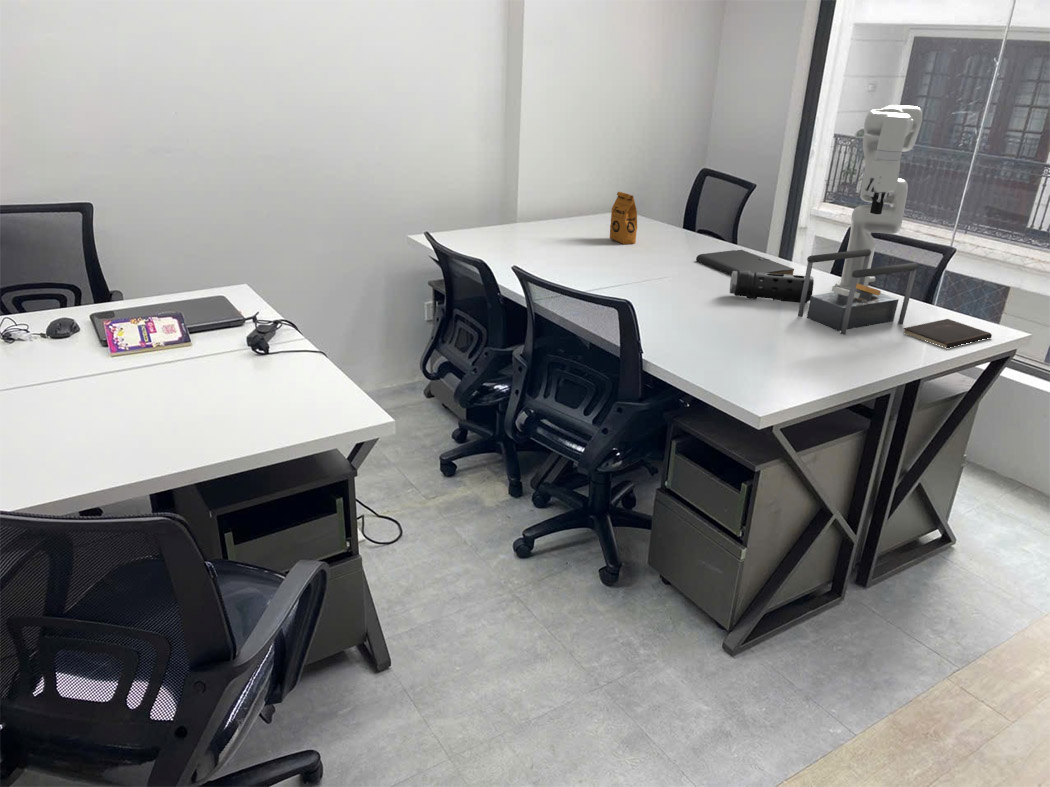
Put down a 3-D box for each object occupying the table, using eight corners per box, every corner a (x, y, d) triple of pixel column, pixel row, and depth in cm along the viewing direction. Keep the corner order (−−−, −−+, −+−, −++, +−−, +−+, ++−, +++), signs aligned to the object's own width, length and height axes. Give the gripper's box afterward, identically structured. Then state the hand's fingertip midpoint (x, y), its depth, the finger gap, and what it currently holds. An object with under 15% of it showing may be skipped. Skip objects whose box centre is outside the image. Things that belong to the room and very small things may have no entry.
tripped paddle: (867, 291, 266) (869, 286, 266) (878, 295, 262) (881, 290, 262) (852, 287, 262) (854, 282, 262) (864, 291, 258) (866, 286, 257)
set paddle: (846, 293, 262) (848, 289, 261) (858, 298, 258) (860, 293, 257) (831, 290, 258) (832, 285, 257) (842, 295, 254) (844, 290, 253)
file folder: (795, 268, 310) (747, 274, 301) (793, 278, 312) (746, 284, 303) (742, 248, 337) (696, 253, 328) (740, 257, 339) (695, 263, 330)
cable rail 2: (899, 322, 263) (914, 261, 254) (905, 324, 261) (920, 263, 253) (837, 333, 251) (851, 269, 242) (843, 335, 249) (857, 271, 240)
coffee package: (620, 245, 351) (625, 196, 341) (606, 239, 361) (610, 191, 351) (639, 243, 355) (643, 195, 346) (624, 237, 365) (628, 190, 356)
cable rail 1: (855, 306, 279) (867, 248, 270) (860, 307, 277) (873, 249, 268) (795, 315, 267) (806, 255, 258) (800, 317, 265) (811, 256, 256)
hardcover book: (901, 334, 254) (903, 328, 253) (945, 325, 264) (947, 318, 263) (946, 351, 241) (947, 344, 240) (990, 340, 251) (992, 333, 251)
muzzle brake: (809, 307, 276) (815, 279, 271) (729, 300, 280) (733, 272, 276) (806, 300, 284) (811, 272, 280) (728, 293, 289) (732, 266, 284)
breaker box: (860, 309, 275) (866, 284, 271) (893, 321, 264) (899, 295, 260) (806, 318, 264) (811, 291, 260) (838, 331, 253) (844, 303, 249)
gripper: (894, 153, 254) (882, 210, 261) (862, 155, 247) (850, 212, 255) (914, 157, 248) (900, 214, 255) (881, 158, 241) (868, 217, 249)
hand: (875, 213), depth 255 cm, fingers closed
